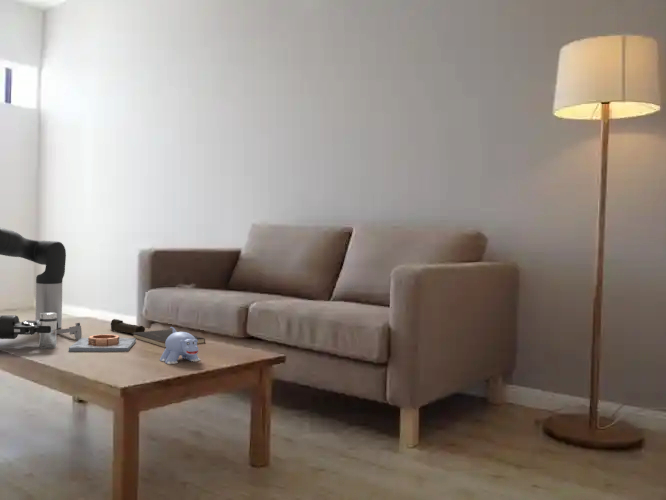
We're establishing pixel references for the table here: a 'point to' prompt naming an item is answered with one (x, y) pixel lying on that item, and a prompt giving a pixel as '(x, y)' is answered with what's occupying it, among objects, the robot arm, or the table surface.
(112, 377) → the table surface
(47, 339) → the steel piston
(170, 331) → the hardcover book
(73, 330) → the caliper
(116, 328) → the hand tool
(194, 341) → the hippopotamus toy
